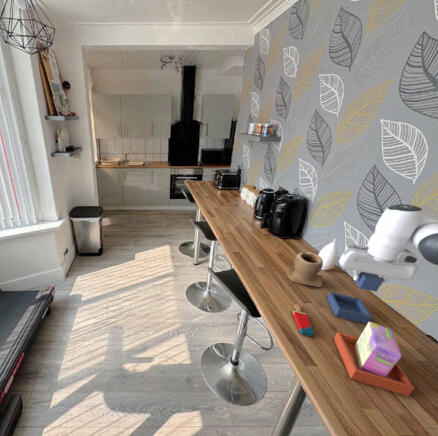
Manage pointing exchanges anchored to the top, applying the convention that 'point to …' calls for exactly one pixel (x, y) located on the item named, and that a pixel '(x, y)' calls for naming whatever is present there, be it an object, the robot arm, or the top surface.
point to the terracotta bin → (391, 382)
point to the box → (377, 350)
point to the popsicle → (303, 321)
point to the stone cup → (307, 269)
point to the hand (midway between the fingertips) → (366, 282)
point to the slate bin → (349, 308)
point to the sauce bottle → (329, 256)
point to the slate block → (369, 281)
